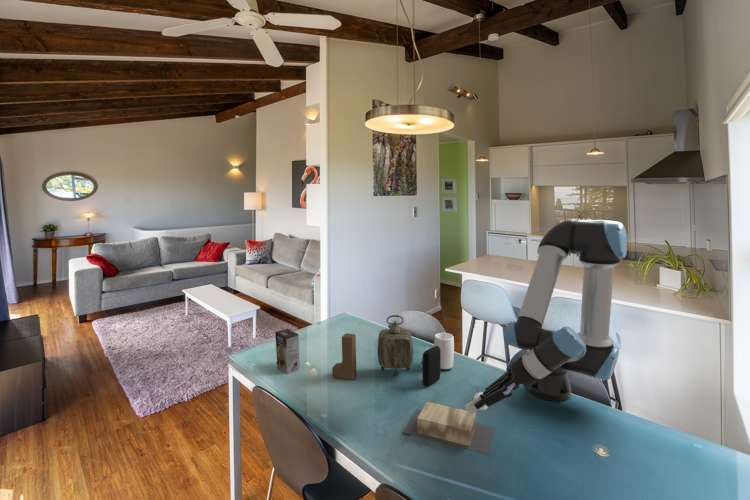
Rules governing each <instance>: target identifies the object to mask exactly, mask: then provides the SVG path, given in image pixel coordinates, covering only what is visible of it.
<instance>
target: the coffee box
mask: <svg viewBox="0 0 750 500" xmlns="http://www.w3.org/2000/svg"><path fill="white" fill-rule="evenodd" d="M274 332H275V334H274V335H275V347H276V351H275V352H276V367H277V368H278V369H279V370H281V371H282V372H284V373H285V374H287V375H289V374H292V373H294V372H297V371H300V370H301V369H300V368H301V367H300V366H301V365H300V340H299V338H300V337H299V336H300V335H299V333H298V332H295V331H293V330H291V329H290V328H286V329H281V330H277V331H274Z"/></svg>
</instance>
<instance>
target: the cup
mask: <svg viewBox="0 0 750 500" xmlns="http://www.w3.org/2000/svg"><path fill="white" fill-rule="evenodd" d="M454 337H455V336H453V334H451V333H448V332H439V333H436V334H434V341H433V343H434V344H433V347H434V346H438V347H439V348H440V352H441V359H440V370H449V369H452V368H454V361H455V360H454V359H455V358H454V357H455V339H454Z"/></svg>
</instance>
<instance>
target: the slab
mask: <svg viewBox="0 0 750 500" xmlns="http://www.w3.org/2000/svg"><path fill="white" fill-rule="evenodd" d="M421 410H422V411H421V413H420V415H419V416H418V418H417V433H420V434H424V435H428V436H432V437H436V438H440V439H443V440H447V441H451V442H455V443H459V444H462V445H466V446H470V443H471V440H472V437H473V434H474V431H475V428H476V423H477V412H475V413H473V414H472V415H471V414H470V413H469V412H468V411H467V410H466V409H461V408H456V407H451V406H446V405H443V404H438V403H434V402H429V401H426V402H425V404H424V406H423V407H422V409H421Z"/></svg>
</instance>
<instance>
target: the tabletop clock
mask: <svg viewBox="0 0 750 500" xmlns="http://www.w3.org/2000/svg"><path fill="white" fill-rule="evenodd" d="M390 318H400V319H401V320H402V321H401V322H398V323H397V321H394V322H393V323H392V322H390V321H389V319H390ZM404 321H405V320H404V318H403V317H402V316H401V315H398V314H393V315H392V314H391V315H390V316H387V317H386V323H387V324H388V325H391V326H390V327H389V328H385V329H382V330H380V331H379V333H378V338H377V359H378V364H379V366H380V370H381V371H384V370H385V369H394V372H393V376H394V377H397V376H398V372H397V369H405V370H406V371H410V369H411V366H412V364H413V360H414V344H413V337H412V333H411V331H410V330H408V329H406V328H405V329H404V328H401V327H400V325H403V323H404Z"/></svg>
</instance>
